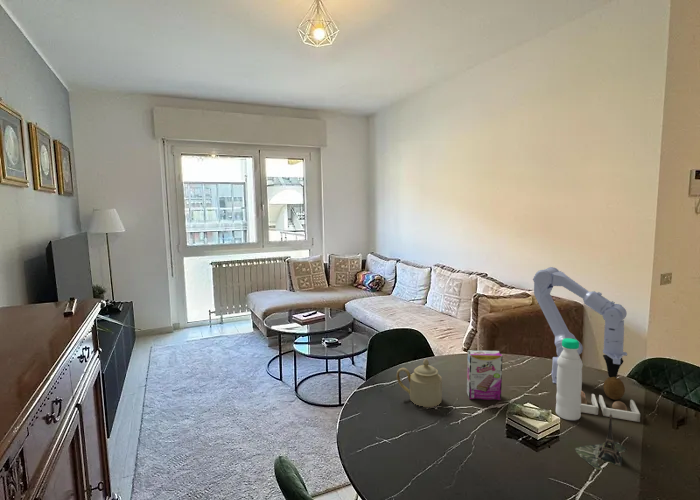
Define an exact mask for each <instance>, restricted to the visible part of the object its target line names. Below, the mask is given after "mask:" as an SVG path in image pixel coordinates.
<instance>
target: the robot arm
mask: <svg viewBox="0 0 700 500" xmlns="http://www.w3.org/2000/svg"><path fill="white" fill-rule="evenodd" d="M532 280H533V295H534V297H535V299H536V302H537V303H538V306H539V308H540V309H541V311H542V312H543V315H544V317H545V319H546V322H547V323H548V326H549V327H550V330H551V332H552V333H553V336H554V345H555V347H556V349H555V350H556V355H557V356H553V357H552V367H551V378H552V383H553V384H557V368H558V364H557V360H558V357H559V356H560V354H561V352H562V351H563V347H562V340H563V339H565V338H571V339H575V340H577V341H578V342H579V348H578V350H577V352H578V354H579V355H581V354H582V353H583V350H584V347H583V344H582V343H581V342H580V341H579V340H578V339H577V338H576V336H575V334H573V333H572V332H570V331H569V330H570V329H568V326H567V325H566V323H565V321H564V319H563V316H562V315H561V313H560V311H559V309H558V306H557V305H556V303H555V301H554V299H553V297H552V295H551V292H552V290H553V289H554V288H553V287H562V288H564V289H566V290H568V291H570V292H571V293H573V294H574V295H576V296H578V297H579V298H581V299H582V300H583V303H584V305H586V306H587V307H588V308H590V309H592V310H593V311H595V312H596V313H598V314H599V315H601V317H602V318H603V320H604V332H603V334H604V336H603V350H602V353H603V355H602V357H603V360H604V361H605V365H606V370H607V374H608V377H616V378H618V377H617V376H618V373H619V371H620V368H621V366H622V365H623V364H624V359H623V357H624V356H625V357H626V356H628V353H627V352H626V351H624V341H625V340H624V338H625V320H624V319H626V318H627V309H625V308H626V307H624V306H623V305H622V304H620V303H615V302H614V301H613V300H612V301H611V300H610V299H608V298H606V297H605V296H603V293H602V292H600V291H597V292H596V291H595V290H593V291H589V290H588V289H586V287H585V288H584V286H582V285H580V284H579V283H578V282H576V281H575V280H574V279H572V278H571V277H570V276H568V275H567V274H565V272H564V271H562V270H559V269H558V268H556V267H553V266H552V267H551V266H550V267H547V268H544V269H540V270H538V271H537V272H536V273H535V274H534V276H533V278H532Z"/></svg>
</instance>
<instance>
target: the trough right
mask: <svg viewBox="0 0 700 500" xmlns="http://www.w3.org/2000/svg"><path fill="white" fill-rule="evenodd" d="M598 403H599V404H598V405H599V406H600V409H601V413H602V415H603V417H609V416H610V414H611V415H612V418H614V419H621V420H627V421H631V422H632V421H633V422H638V423H641V413H640V411H639V409H638V407H637V405H636V402H635V400H634V399H630V400H629V407H630V408H629V409H630V411H629V410H627V411H624V410H618V409H612V407H611V408H609V407H607V406H606V402H605V401H604V397H603V395H602V394H599V395H598ZM609 418H610V417H609Z"/></svg>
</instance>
